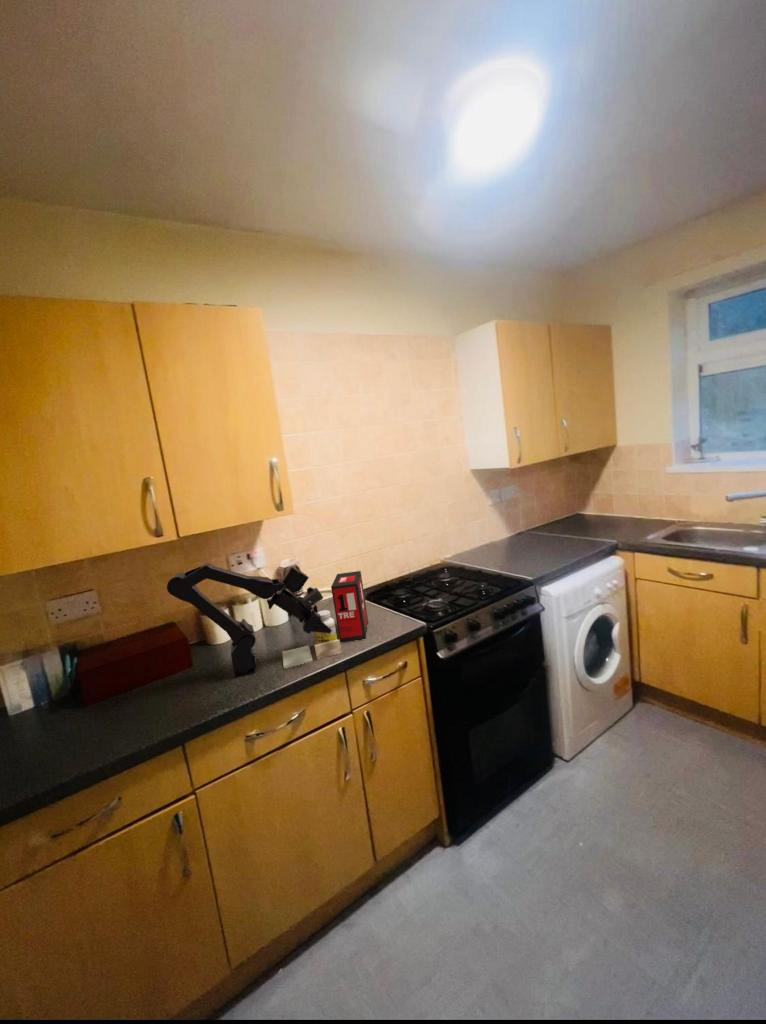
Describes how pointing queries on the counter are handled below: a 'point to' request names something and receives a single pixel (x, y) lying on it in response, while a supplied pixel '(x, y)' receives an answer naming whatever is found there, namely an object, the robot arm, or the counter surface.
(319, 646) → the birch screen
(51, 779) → the counter surface
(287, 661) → the sage board
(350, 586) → the cleaning product box
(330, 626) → the supplement bottle
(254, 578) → the robot arm
